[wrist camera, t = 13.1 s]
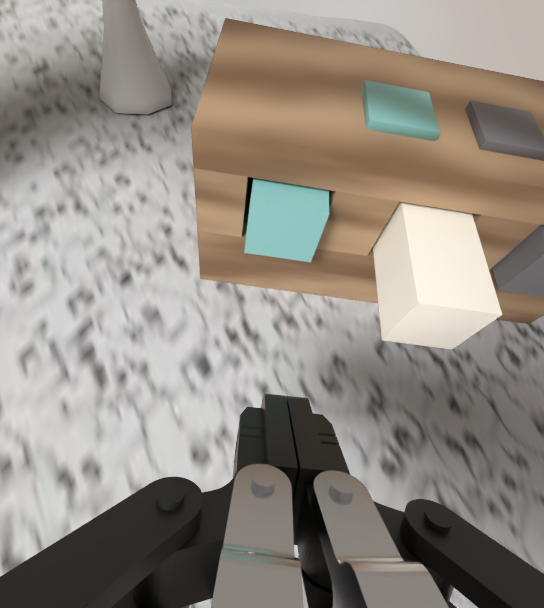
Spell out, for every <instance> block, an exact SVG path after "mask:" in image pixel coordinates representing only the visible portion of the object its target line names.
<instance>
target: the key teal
mask: <svg viewBox="0 0 544 608" xmlns="http://www.w3.org/2000/svg"><path fill="white" fill-rule="evenodd" d="M328 216H329V190H325V189H319V188H313V187H307V186H301V185H295V184H288V183H282V182H276V181H270V180H264V179H258V178H253V185H252V192H251V199H250V207H249V215H248V224H247V233H246V242H245V250H244V253H250V254H256V255H263V256H270V257H277V258H284V259H291V260H298V261H305V262H311V260H312V258H313V255H314V253H315V250H316V248H317V245H318V242H319V240H320V237H321V235H322V232H323V229H324V227H325V224H326V222H327V219H328Z"/></svg>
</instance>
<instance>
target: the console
mask: <svg viewBox="0 0 544 608" xmlns="http://www.w3.org/2000/svg"><path fill="white" fill-rule="evenodd" d="M191 133H192V149H193V165H194V182H195V198H196V215H197V231H198V248H199V264H200V279H206V280H213V281H221V282H228V283H235V284H243V285H250V286H257V287H264V288H272V289H279V290H286V291H294V292H301V293H308V294H315V295H323V296H330V297H337V298H345V299H352V300H359V301H367V302H374V303H378V294H377V284H376V274H375V264H374V253H373V245H374V244H375V242H376V240H377V238H378V237H379V235H380V233H381V232H382V230H383V228H384V227H385V225H386V223H387V222H388V220H389V218H390V217H391V215H392V213H393V212H394V210H395V208H396V207H397V205H398V203H399V202H405V203H412V204H418V205H424V206H430V207H436V208H442V209H449V210H455V211H461V212H467V213H472V216H473V219H474V222H475V225H476V229H477V232H478V235H479V239H480V242H481V245H482V249H483V252H484V255H485V259H486V262H487V265H488V269H489V272H490V275H491V279H492V282H493V285H494V289H495V292H496V295H497V298H498V302H499V305H500V308H501V312H502V315H501V316H500V317H498V318H497V319H498V320H505V321H512V322H520V323H527V324H530V323H531V322H533V321H535V320H536V319H538V318H540V317H541V316H543V315H544V296H537V295H530V294H523V293H516V292H509V291H502V290H499V289H498V286H497V283H496V280H495V276H494V273H493V270H492V267H493V266H495V265H496V264H497V263H498V262H499V261H500V260H501V259H502V258H504V257H505V256H506V255H507V254H508V253H509V252H510V251H512V250H513V249H514V248H515V247H516V246H517V245H518V244H519V243H521V242H522V241H523V240H524V239H525V238H526V237H527V236H529V235H530V234H531V233H532V232H533V231H534V230H535V229H536V228H538V227H539V226H540V225H544V81H539V80H534V79H529V78H524V77H519V76H514V75H508V74H504V73H499V72H494V71H489V70H484V69H479V68H474V67H469V66H464V65H459V64H454V63H449V62H444V61H439V60H433V59H428V58H424V57H419V56H414V55H409V54H403V53H398V52H393V51H388V50H383V49H378V48H373V47H368V46H363V45H358V44H353V43H348V42H343V41H338V40H333V39H328V38H323V37H318V36H313V35H308V34H303V33H298V32H293V31H288V30H283V29H278V28H273V27H268V26H262V25H257V24H252V23H247V22H242V21H237V20H232V19H227V18H225V21H224V24H223V27H222V31H221V34H220V37H219V40H218V43H217V47H216V50H215V53H214V56H213V59H212V62H211V66H210V69H209V72H208V75H207V78H206V82H205V85H204V88H203V91H202V94H201V97H200V101H199V104H198V107H197V110H196V113H195V117H194V120H193V123H192V126H191ZM253 178H258V179H264V180H270V181H276V182H282V183H288V184H295V185H301V186H307V187H313V188H319V189H325V190H329V216H328V219H327V222H326V224H325V227H324V229H323V232H322V235H321V237H320V240H319V242H318V245H317V248H316V250H315V253H314V255H313V258H312V260H311V262H305V261H298V260H291V259H284V258H277V257H270V256H263V255H256V254H250V253H244V250H245V242H246V233H247V224H248V215H249V207H250V199H251V192H252V185H253Z"/></svg>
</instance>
